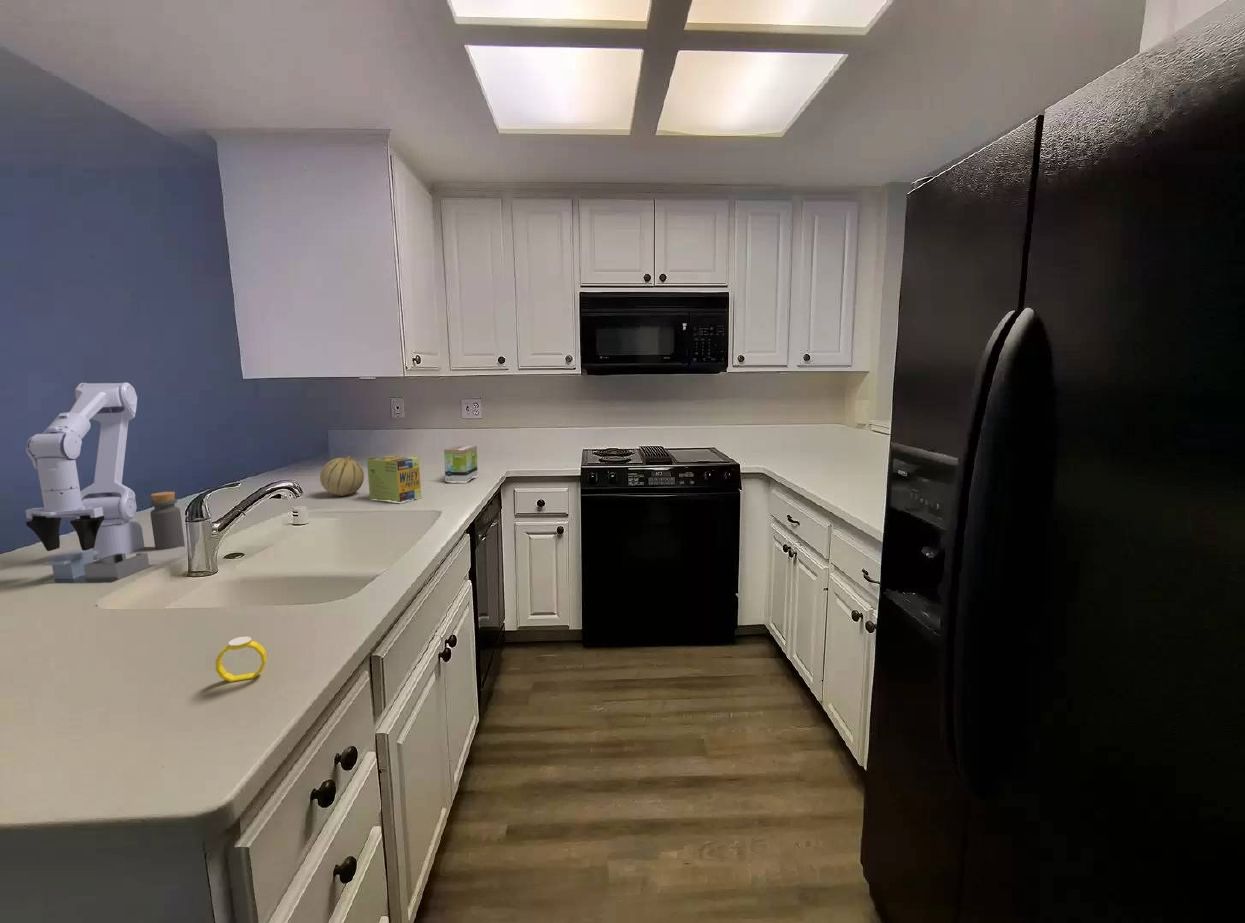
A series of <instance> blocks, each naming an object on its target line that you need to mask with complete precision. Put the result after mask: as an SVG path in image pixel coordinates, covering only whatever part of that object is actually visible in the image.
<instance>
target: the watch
mask: <svg viewBox="0 0 1245 923" xmlns="http://www.w3.org/2000/svg"><path fill="white" fill-rule="evenodd" d="M247 647H248V648H250V649H253V650H254V651H256V652H257V654H259V656H260V660H261V664H260V666H259V668H258V669H257V670H256V671H255V672H249V673H244V674H243V673H242V674H238V675H234V674H232V673H231V672H228V671H227V670H226V669H225V667H224V666H223V656H224V654H225V653H226V652H228V651H229V650H240V649H245V648H247ZM267 656H268V655H267V652H266V649H265V648H264V647H263V646H262V645H261V644H260V643H259V642H257V641H255V640H253V639H252V638H251V637H250V636H239V637H236V638H233V639H231V640H229V641H228V643H227V645H226V646H224V648H222V650H221V651H220V652H219V654H218V656H217V658H216V659H215V670H216V673H217V674H218V676H219V677H220V678H221V679H223V680H224V681H227V682H229V683H233V682H239V681H244V680H252V679H255V678H256V677H257V676H258V675H260V673H262V672H263V670H264V668H265V666H266V663H267V661H268V657H267Z"/></svg>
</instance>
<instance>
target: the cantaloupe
mask: <svg viewBox="0 0 1245 923" xmlns="http://www.w3.org/2000/svg"><path fill="white" fill-rule="evenodd" d="M319 476H320V477H319V480H320V484H321V486H322V487H323V489H324V490H326V491H327V492H328V493H329V494H332V495H334V496H338V495H347V494H350V495H352V494H355V493H356V492H358V491H359V490H360V488H361V487H362V485H363V483H364V480H365V473H364V470H363V467H362V466H361V465H360V463H358V462H357V461H356V460H354V459H352V457H351V455H348V457H336V458H333V459H331V460H330V461H328V462H327V463H326V464H324V466H322V469H321V471H320V475H319ZM347 496H348V495H347Z"/></svg>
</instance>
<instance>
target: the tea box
mask: <svg viewBox="0 0 1245 923" xmlns="http://www.w3.org/2000/svg"><path fill="white" fill-rule="evenodd" d="M477 448H478V447H477V445H455V446H452V447H449V448H445V449H444V451H443V452H444V479H445V480H444V482H445V481H468V480H469V479H471V478H472V477H473V476H476V475H477V474H479V473H478V450H477Z"/></svg>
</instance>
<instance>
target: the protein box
mask: <svg viewBox="0 0 1245 923" xmlns="http://www.w3.org/2000/svg"><path fill="white" fill-rule="evenodd" d="M366 465H367V477H368V478H367V479H368V490H369V499H370V498H371V499H377V500H391V501H397V502H402V501H406V500H412V499H415V498H418V497H421V498H422V485H421V472H420V458H419V457H418V456H415V457H414V456H401V455H385V456H378V457H371V458H367V459H366Z"/></svg>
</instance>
